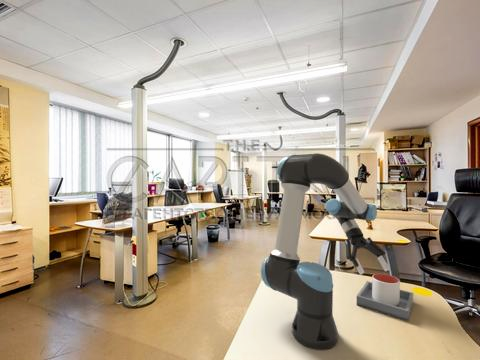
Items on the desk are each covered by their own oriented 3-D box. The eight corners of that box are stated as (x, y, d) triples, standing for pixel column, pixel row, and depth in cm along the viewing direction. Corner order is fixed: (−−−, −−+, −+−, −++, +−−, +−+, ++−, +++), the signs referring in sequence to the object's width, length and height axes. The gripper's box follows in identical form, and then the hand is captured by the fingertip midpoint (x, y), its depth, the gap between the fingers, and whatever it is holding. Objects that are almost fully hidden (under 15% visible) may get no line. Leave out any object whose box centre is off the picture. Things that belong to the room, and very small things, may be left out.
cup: (398, 299, 105) (399, 276, 105) (400, 310, 97) (400, 285, 96) (372, 293, 110) (372, 271, 110) (371, 304, 102) (371, 280, 101)
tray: (356, 305, 103) (356, 295, 103) (367, 289, 116) (367, 281, 116) (408, 321, 91) (408, 311, 91) (413, 302, 105) (413, 292, 105)
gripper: (368, 233, 129) (392, 272, 115) (327, 236, 123) (347, 278, 109) (376, 225, 124) (402, 265, 110) (334, 228, 118) (355, 271, 104)
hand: (375, 271), depth 110 cm, fingers open, 13 cm apart
